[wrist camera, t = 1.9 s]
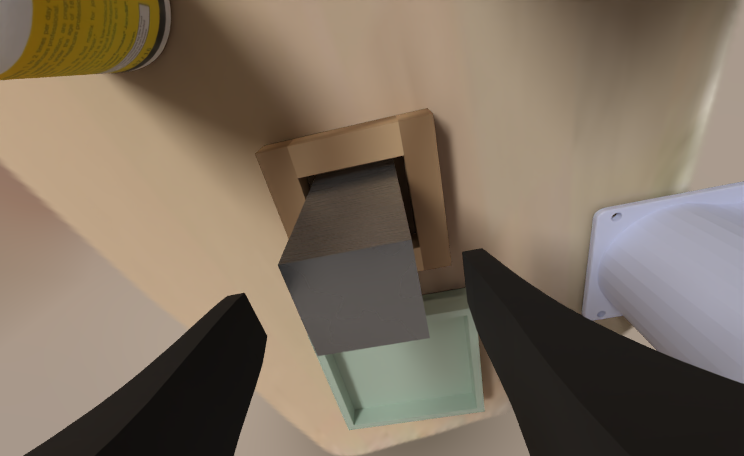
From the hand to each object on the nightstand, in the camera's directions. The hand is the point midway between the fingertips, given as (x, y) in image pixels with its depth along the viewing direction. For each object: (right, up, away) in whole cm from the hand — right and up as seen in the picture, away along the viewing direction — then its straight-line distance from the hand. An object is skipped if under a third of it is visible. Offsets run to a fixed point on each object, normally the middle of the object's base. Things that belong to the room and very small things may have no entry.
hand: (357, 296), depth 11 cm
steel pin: (0, +4, +7) cm, 8 cm away
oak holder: (0, +4, +7) cm, 8 cm away
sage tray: (+3, -7, +12) cm, 14 cm away
